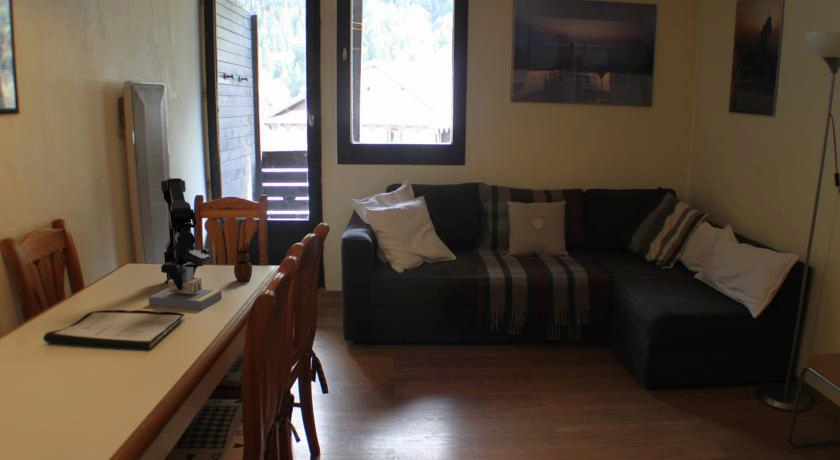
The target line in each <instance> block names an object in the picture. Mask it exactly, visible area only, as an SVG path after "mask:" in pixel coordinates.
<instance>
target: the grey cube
mask: <svg viewBox="0 0 840 460" xmlns="http://www.w3.org/2000/svg"><path fill="white" fill-rule="evenodd" d="M183 271H186V272H185V273H184V274H183V279H182V281H185V282H187V281H190V280H192V279H194V278H195V275H194V267H185V266H183Z"/></svg>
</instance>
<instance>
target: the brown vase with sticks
mask: <svg viewBox="0 0 840 460" xmlns="http://www.w3.org/2000/svg"><path fill="white" fill-rule="evenodd" d="M248 246H249V244H248V242H246V244H244V243H243V244H242V246H240V248H238V249H237V253H236V256H235V258H236V262H235V263H234V266H233V274H234V277H235V279H236V280H237V281H238V282H241V281H242V282H243V281H245V282H248V281H250V280H251V279H252V274H253V266H252V265H253V264H252V263H251V262H250V261H249V260H250V254H249V253H248V252H249V248H248Z"/></svg>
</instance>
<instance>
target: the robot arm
mask: <svg viewBox="0 0 840 460" xmlns="http://www.w3.org/2000/svg"><path fill="white" fill-rule="evenodd" d="M159 185H160V186H159V190H160V194H161V196H162V198H163V201H165V202H166V205H167V206H166V207H167V223H168V241H167V243H166V245H165V246H164V249H165V250H164V251H163V258H162V261H163V264H162V265H161V266H160V271H161V273H163V274H166V280H164V283H167V284H168V281H169V280H171V279H172V280H173V281H174V283H175V285H176V286H177V288H178V289H179V290H181V289H182V279H183V274H184V273H185V272H186V271H183V266H185V267H194V276H195V273H196V272H197V271H196V270H197V269H198V268H199V267H203V266H204V265H207V262H208V260H209V259H210V258H211V256H210V249H207V248H204V249H202V250H198V249H196V246H195V244H196V238H195V236H194V235H195V234H193V232H192V228H193V229H196V225H197V217H196V212H195V211H194V209H193V208H192V207H191V204H190V203H189V202H188V201H186V198H185V194H184V193H185V192H186V191H187V189H186V180H183V179H182V178H180V177H176V178H172V177H171V178H168V179H166V180H162V181H160V183H159Z"/></svg>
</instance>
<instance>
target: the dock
mask: <svg viewBox="0 0 840 460" xmlns="http://www.w3.org/2000/svg"><path fill="white" fill-rule="evenodd" d="M221 300H222V290H220V289H214V290H213V289H203V288H202V289H201V290H198V292H194V294H186V293H174V292H169V287H166V288H164V289H163V290H160V291H159V292H155V293H154V294H152V295H150V296H148V305H149V306H151V307H152V306H153V307H162V308H163V307H164V308H175V309H187V310H198V311H199V310H200V311H204V310H205V309H207V308H208V307H211V306H212V305H214V304H216V303H218V302H220V301H221Z"/></svg>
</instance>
